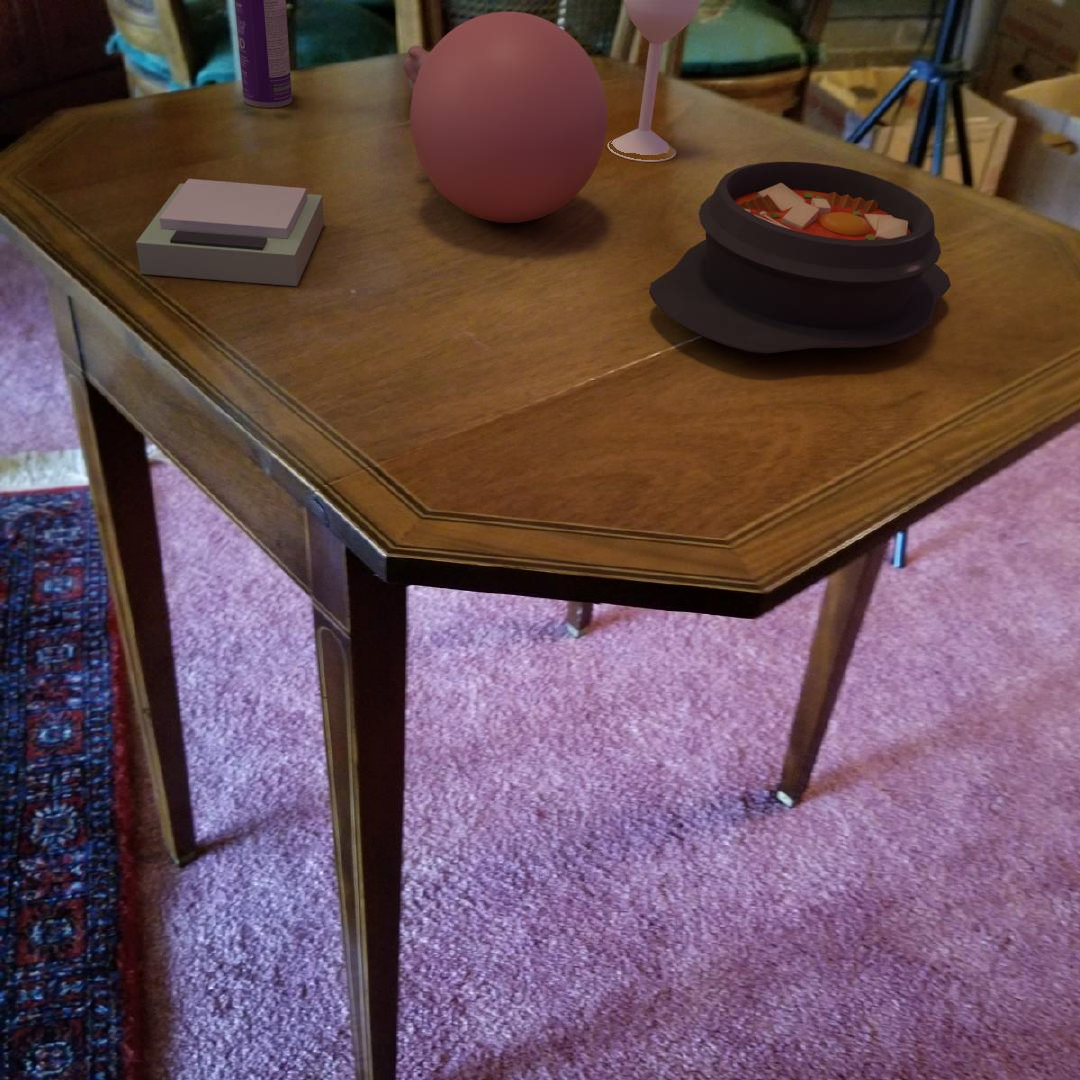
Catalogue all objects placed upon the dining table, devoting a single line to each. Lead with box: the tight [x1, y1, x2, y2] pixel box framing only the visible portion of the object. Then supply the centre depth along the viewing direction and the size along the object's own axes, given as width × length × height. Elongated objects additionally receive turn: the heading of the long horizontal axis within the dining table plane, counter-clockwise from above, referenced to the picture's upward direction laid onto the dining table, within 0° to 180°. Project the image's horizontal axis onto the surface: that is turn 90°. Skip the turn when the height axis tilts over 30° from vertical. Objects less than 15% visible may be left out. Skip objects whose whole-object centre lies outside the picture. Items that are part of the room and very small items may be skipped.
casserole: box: [648, 161, 952, 355], centre depth 78 cm, size 25×19×8 cm
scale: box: [135, 178, 325, 287], centre depth 80 cm, size 11×11×3 cm
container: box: [233, 0, 293, 109], centre depth 103 cm, size 5×5×15 cm
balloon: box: [402, 11, 608, 224], centre depth 86 cm, size 15×20×15 cm
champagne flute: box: [607, 0, 700, 163], centre depth 97 cm, size 7×7×24 cm
